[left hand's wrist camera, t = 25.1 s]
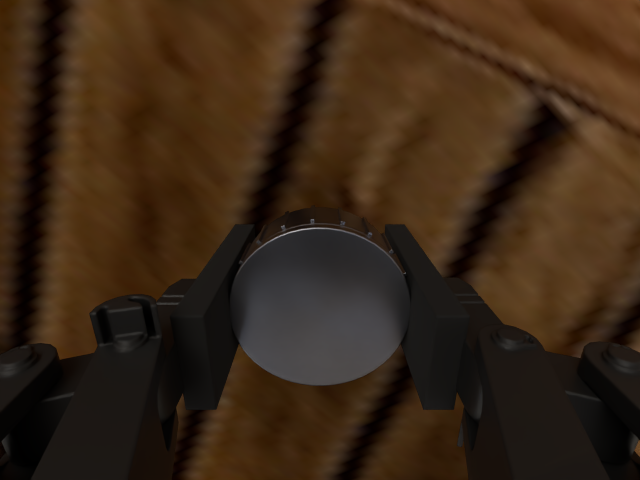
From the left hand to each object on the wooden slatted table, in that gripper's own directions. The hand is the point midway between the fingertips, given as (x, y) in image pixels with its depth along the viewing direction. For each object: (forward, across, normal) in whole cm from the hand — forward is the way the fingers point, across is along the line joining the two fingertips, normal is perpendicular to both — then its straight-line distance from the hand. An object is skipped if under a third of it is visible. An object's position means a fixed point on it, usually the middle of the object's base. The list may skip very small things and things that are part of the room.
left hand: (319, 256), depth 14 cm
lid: (-4, 0, 0) cm, 4 cm away
